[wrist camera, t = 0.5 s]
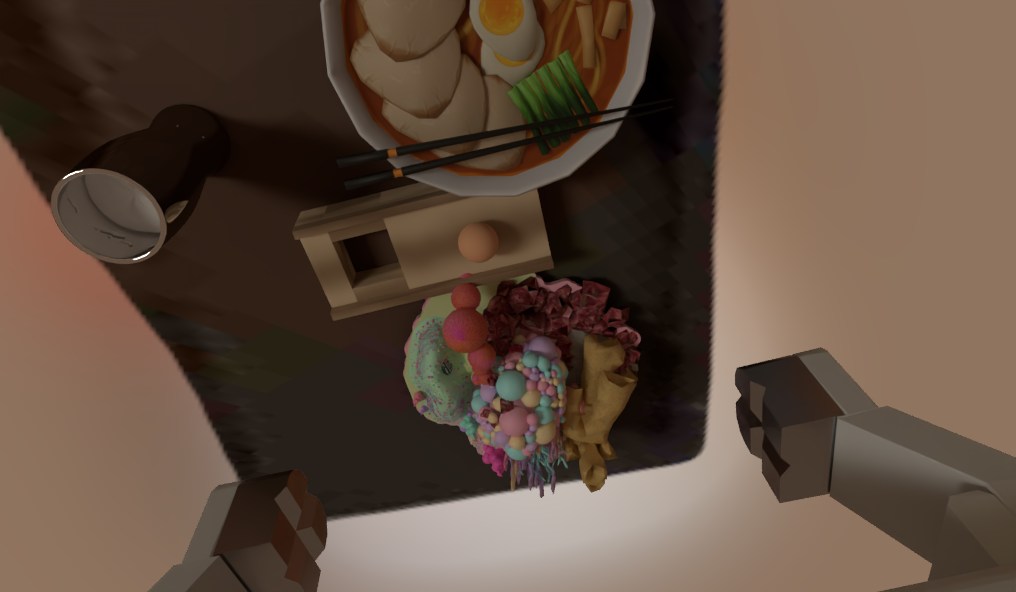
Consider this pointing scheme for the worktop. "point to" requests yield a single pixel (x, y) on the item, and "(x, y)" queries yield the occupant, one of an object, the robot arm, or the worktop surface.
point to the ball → (478, 242)
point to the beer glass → (140, 185)
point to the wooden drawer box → (419, 245)
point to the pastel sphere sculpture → (526, 372)
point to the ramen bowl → (486, 86)
